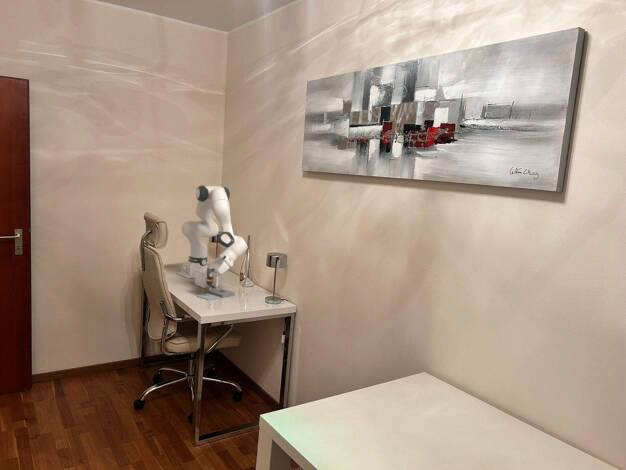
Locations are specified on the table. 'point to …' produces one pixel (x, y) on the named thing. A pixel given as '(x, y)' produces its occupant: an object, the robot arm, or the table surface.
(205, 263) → the robot arm
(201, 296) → the mat
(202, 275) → the cable organizer
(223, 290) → the socket block
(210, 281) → the plug
